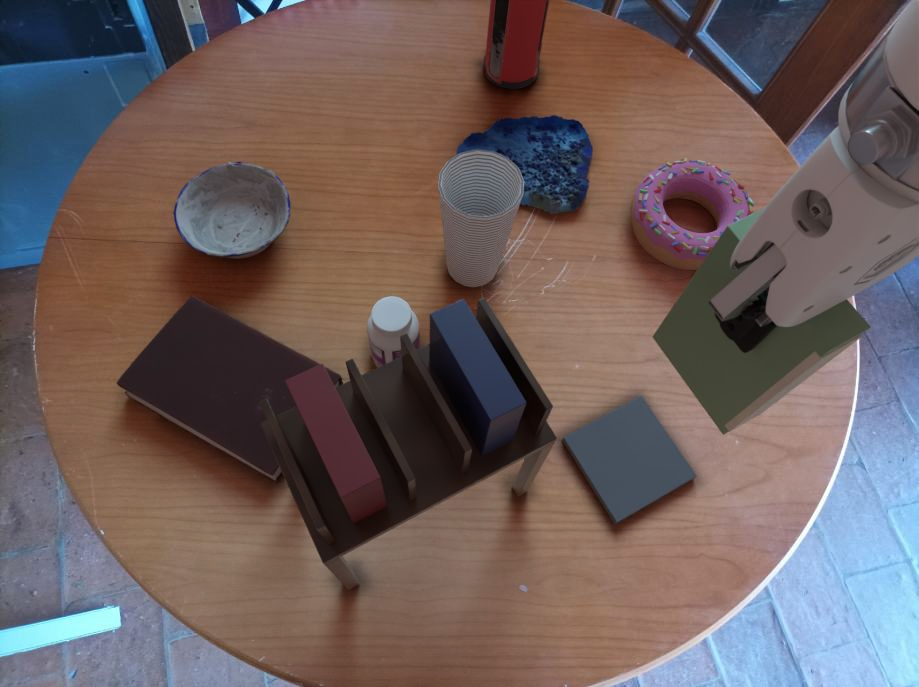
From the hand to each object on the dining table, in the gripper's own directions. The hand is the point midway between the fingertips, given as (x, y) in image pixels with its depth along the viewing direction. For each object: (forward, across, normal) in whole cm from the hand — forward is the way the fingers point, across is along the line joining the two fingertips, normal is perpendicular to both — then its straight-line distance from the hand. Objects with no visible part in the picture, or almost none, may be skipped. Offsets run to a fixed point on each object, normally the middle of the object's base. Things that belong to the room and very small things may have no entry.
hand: (756, 318), depth 44 cm
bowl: (+32, -25, +45) cm, 61 cm away
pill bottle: (+32, -16, +22) cm, 42 cm away
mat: (+32, 0, 0) cm, 32 cm away
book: (+32, -33, +26) cm, 53 cm away
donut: (+32, +23, +21) cm, 45 cm away
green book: (+10, 0, 0) cm, 10 cm away
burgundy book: (+14, -26, +8) cm, 31 cm away
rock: (+32, +10, +38) cm, 51 cm away
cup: (+32, -3, +28) cm, 43 cm away
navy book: (+14, -16, +8) cm, 22 cm away
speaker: (+32, +17, +53) cm, 64 cm away
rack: (+32, -21, +8) cm, 39 cm away
